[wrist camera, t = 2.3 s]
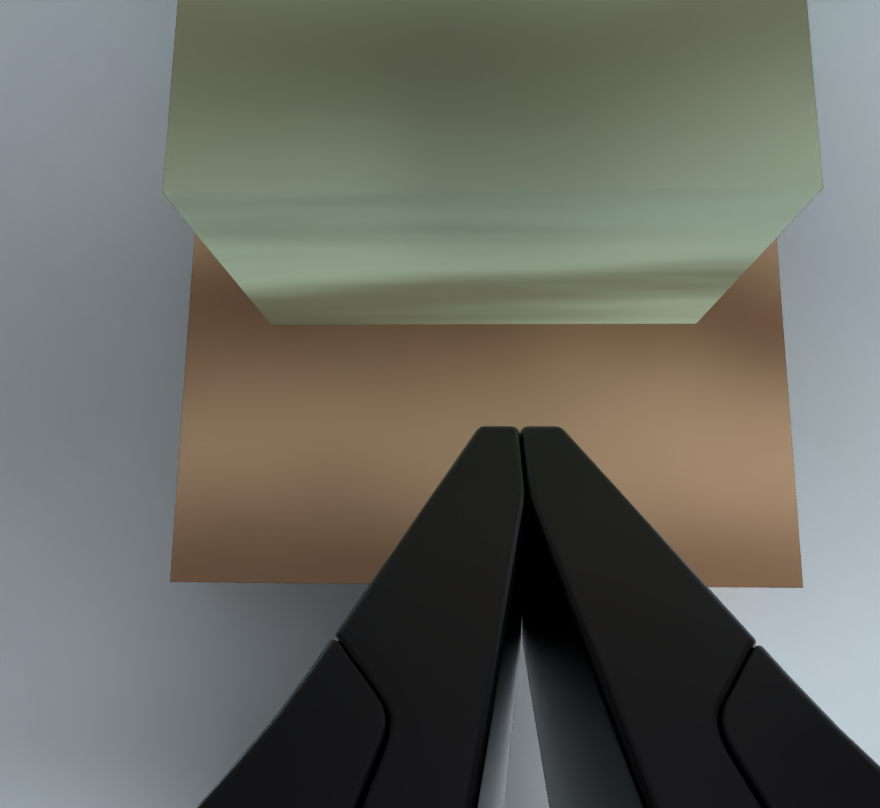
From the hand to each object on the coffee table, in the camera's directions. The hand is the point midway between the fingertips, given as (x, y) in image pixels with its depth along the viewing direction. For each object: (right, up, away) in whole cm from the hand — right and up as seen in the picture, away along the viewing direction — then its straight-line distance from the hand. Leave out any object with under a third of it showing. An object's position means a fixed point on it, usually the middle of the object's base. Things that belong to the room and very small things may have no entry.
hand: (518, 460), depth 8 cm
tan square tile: (0, +2, +13) cm, 13 cm away
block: (0, +5, +11) cm, 12 cm away
